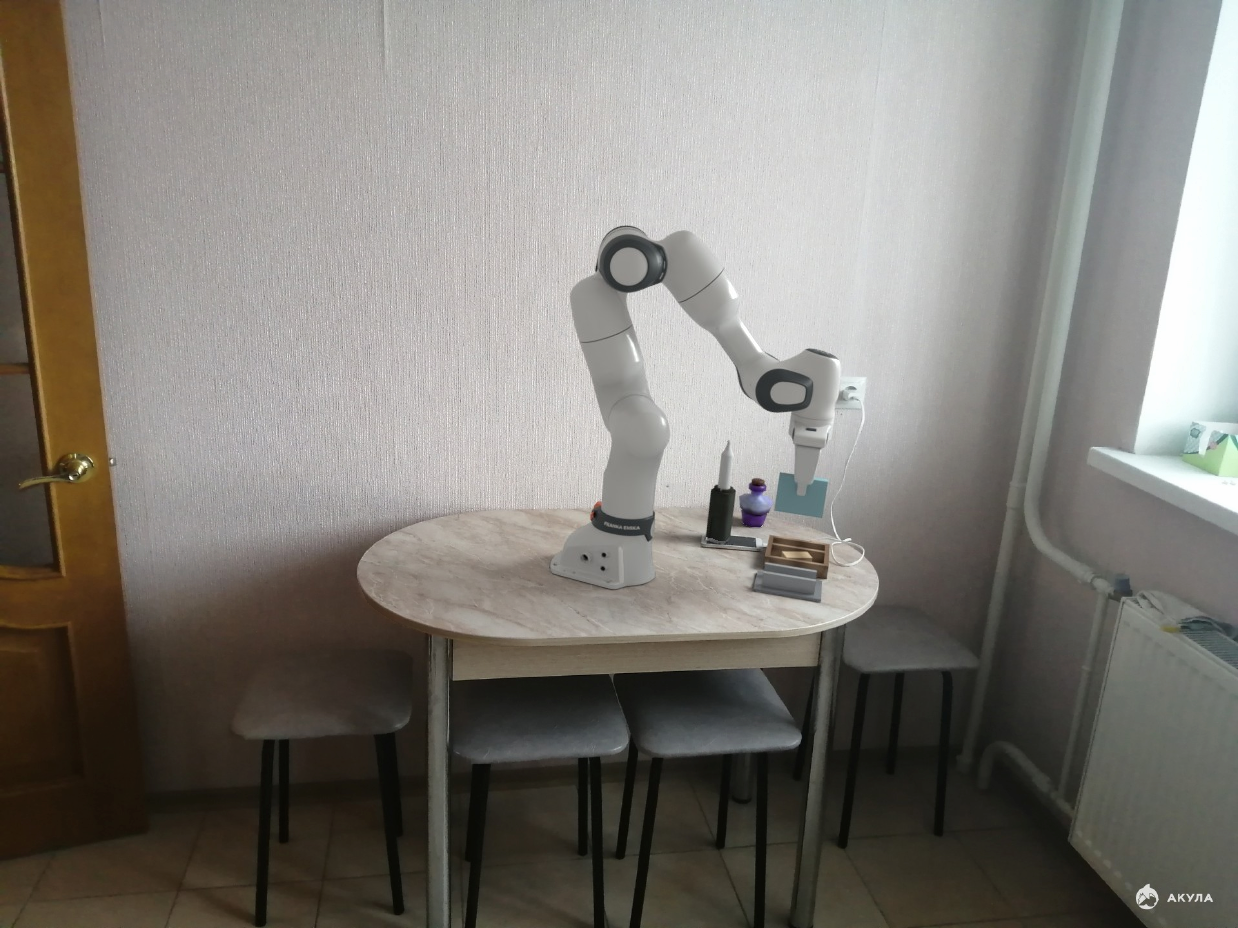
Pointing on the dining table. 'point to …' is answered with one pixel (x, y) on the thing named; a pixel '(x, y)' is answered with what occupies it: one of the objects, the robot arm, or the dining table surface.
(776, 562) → the rack
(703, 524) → the dining table surface
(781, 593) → the slate stand
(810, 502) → the teal flat block
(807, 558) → the upper offcut
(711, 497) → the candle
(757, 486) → the potion bottle
